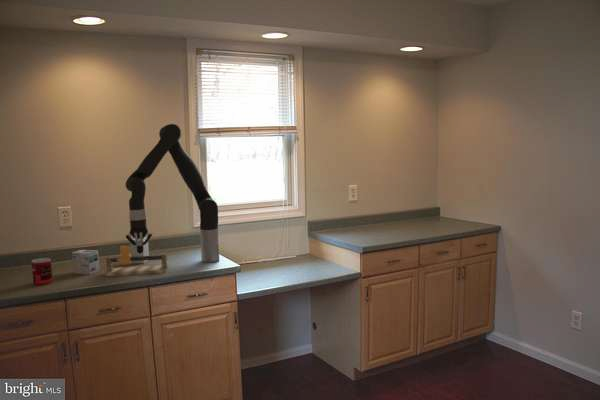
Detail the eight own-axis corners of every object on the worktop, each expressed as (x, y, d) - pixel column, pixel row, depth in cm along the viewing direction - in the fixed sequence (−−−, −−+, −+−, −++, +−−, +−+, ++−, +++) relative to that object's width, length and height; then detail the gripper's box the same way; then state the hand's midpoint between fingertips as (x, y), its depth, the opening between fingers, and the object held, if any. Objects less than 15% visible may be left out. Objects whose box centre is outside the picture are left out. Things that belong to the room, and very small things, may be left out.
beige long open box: (168, 267, 249) (167, 251, 248) (165, 272, 239) (164, 255, 238) (110, 270, 245) (109, 254, 244) (105, 276, 235) (104, 259, 234)
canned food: (37, 281, 228) (35, 258, 227) (55, 280, 229) (53, 257, 228) (30, 286, 221) (28, 262, 219) (48, 285, 222) (46, 261, 220)
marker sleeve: (131, 262, 243) (130, 245, 242) (130, 264, 239) (129, 246, 238) (121, 262, 242) (120, 245, 241) (119, 264, 238) (118, 247, 237)
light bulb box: (100, 271, 243) (98, 250, 242) (90, 275, 237) (88, 253, 236) (82, 270, 247) (81, 249, 246) (72, 273, 241) (71, 252, 239)
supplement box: (149, 260, 264) (148, 237, 263) (144, 263, 257) (142, 240, 255) (136, 260, 265) (135, 237, 264) (130, 263, 258) (129, 240, 256)
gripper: (153, 216, 243) (155, 250, 246) (125, 217, 242) (127, 252, 244) (150, 218, 236) (153, 254, 238) (122, 220, 234) (124, 255, 236)
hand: (140, 253), depth 241 cm, fingers closed
